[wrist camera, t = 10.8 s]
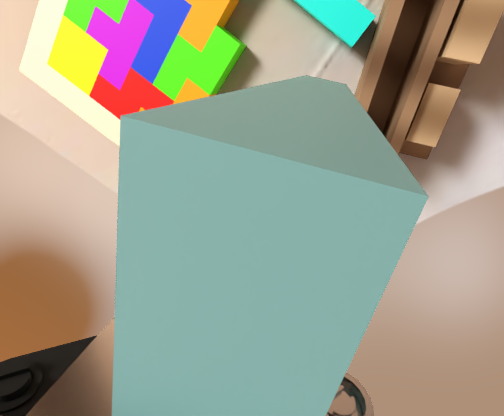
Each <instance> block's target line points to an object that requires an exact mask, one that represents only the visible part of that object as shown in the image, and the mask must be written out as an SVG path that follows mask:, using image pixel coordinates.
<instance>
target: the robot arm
mask: <svg viewBox="0 0 504 416" xmlns="http://www.w3.org/2000/svg"><path fill="white" fill-rule="evenodd" d="M114 323H115V317H114V318H113V319H112V320H111V321H110V322H109V323H108V324H107V325H106V327H105V328H104V329H103V330H102V331H101V332H100V333H99V334H98V335H97V336H93V337H90V338H86V339H82V340H78V341H75V342H71V343H67V344H63V345H60V346H56V347H52V348H48V349H45V350H41V351H37V352H33V353H30V354H26V355H22V356H18V357H15V358H11V359H8V360H5V361H3V362H0V416H112V391H113V357H114ZM326 416H374V410H373V405H372V402H371V398H370V396H369V395H368V393H367V391H366V389H365V388H364V387H363V386H362V385H361V383H360V382H359V381H358V380H357V379H355V378H354V377H352V376H351V375H350V374H348V373H345V376H344V378H343V380H342V382H341V384H340V386H339V388H338V390H337V393H336V395H335V397H334V399H333V401H332V403H331V405H330V408H329V410H328V412H327V414H326Z"/></svg>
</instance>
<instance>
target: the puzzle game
mask: <svg viewBox="0 0 504 416" xmlns="http://www.w3.org/2000/svg"><path fill="white" fill-rule="evenodd" d="M293 1H294V2H295V3H297V4H298V5H299V6H300V7H301V8H303V9H304V10H305V11H306V12H308V13H309V14H310V15H311V16H312V17H314V18H315V19H316V20H317V21H319V22H320V23H321V24H322V25H323V26H325V27H326V28H327V29H328V30H329V31H331V32H332V33H333V34H334V35H336V36H337V37H338V38H339V39H340V40H342V41H343V42H344V43H345V44H347V45H348V46H349V47H350V48H352V47H353V45H354V44H355V43H356V41H357V40H358V39H359V37H360V36H361V35H362V34H363V32H364V31H365V30H366V28H367V27H368V26H369V24H370V23H371V22H372V21H373V19H374V18H375V17H376V16H375V15H374V14H372V13H371V12H370V11H369V10H368V9H366V8H365V7H364V6H363V5H362V4H360V3H359V2H358V1H357V0H293ZM238 2H239V0H39V3H38V6H37V10H36V13H35V17H34V20H33V23H32V27H31V30H30V34H29V37H28V41H27V44H26V48H25V51H24V54H23V58H22V61H21V65H20V68H19V71H21V72H22V73H23V74H25V75H26V76H27V77H28V78H30V79H31V80H32V81H34V82H35V83H36V84H38V85H39V86H40V87H42V88H43V89H44V90H46V91H47V92H48V93H50V94H51V95H52V96H54V97H55V98H56V99H57V100H59V101H60V102H61V103H63V104H64V105H65V106H67V107H68V108H69V109H71V110H72V111H73V112H75V113H76V114H77V115H79V116H80V117H81V118H83V119H84V120H85V121H86V122H88V123H89V124H90V125H92V126H93V127H94V128H96V129H97V130H98V131H100V132H101V133H102V134H104V135H105V136H106V137H108V138H109V139H110V140H112V141H113V142H114V143H115V144H117V145H118V146H119V147H120V117H121V115H126V114H131V113H135V112H140V111H144V110H149V109H154V108H158V107H163V106H167V105H172V104H177V103H181V102H186V101H191V100H195V99H200V98H204V97H209V96H214V95H217V93H218V91H219V90H220V88H221V86H222V85H223V83H224V82H225V80H226V78H227V77H228V75H229V73H230V72H231V70H232V68H233V67H234V65H235V64H236V62H237V60H238V59H239V57H240V55H241V54H242V52H243V50H244V49H245V47H246V45H245V44H243V43H242V42H241V41H240V40H238V39H237V38H236V37H235V36H233V35H232V34H231V33H230V32H228V31H227V30H226V29H225V28H224V27H225V25H226V23H227V21H228V20H229V18H230V16H231V14H232V13H233V11H234V9H235V7H236V6H237V4H238Z"/></svg>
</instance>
